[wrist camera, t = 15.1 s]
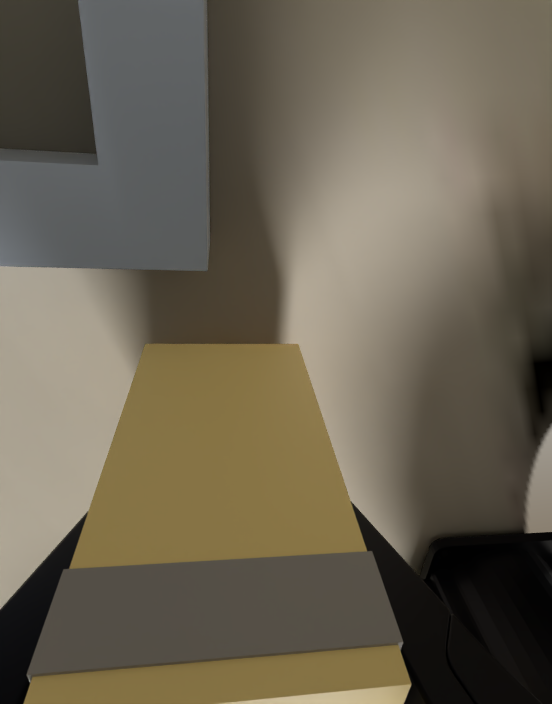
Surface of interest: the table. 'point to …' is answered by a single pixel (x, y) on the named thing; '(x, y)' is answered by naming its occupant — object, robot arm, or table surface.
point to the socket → (123, 151)
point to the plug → (220, 551)
